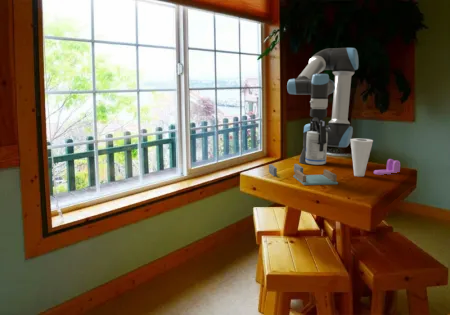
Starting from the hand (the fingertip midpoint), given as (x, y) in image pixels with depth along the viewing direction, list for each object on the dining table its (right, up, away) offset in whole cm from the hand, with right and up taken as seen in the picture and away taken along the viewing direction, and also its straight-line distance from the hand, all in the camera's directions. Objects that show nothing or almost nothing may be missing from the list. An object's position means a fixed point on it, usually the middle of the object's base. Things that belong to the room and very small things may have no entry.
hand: (316, 156), depth 183 cm
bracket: (+40, -9, +20) cm, 46 cm away
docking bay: (0, -11, +2) cm, 12 cm away
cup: (+25, -10, +14) cm, 30 cm away
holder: (-12, -9, +16) cm, 22 cm away
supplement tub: (0, -3, +1) cm, 3 cm away
